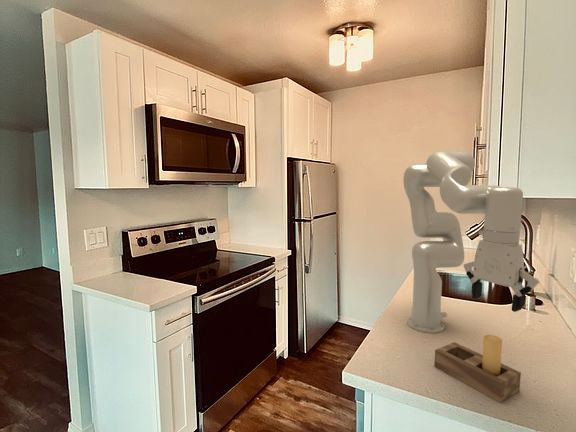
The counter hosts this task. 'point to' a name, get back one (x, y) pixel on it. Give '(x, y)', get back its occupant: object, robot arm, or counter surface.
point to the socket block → (477, 372)
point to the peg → (492, 354)
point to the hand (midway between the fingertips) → (495, 303)
